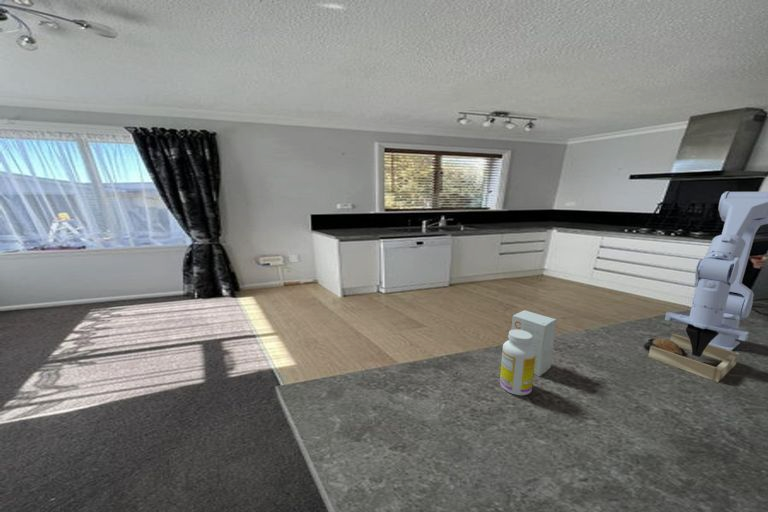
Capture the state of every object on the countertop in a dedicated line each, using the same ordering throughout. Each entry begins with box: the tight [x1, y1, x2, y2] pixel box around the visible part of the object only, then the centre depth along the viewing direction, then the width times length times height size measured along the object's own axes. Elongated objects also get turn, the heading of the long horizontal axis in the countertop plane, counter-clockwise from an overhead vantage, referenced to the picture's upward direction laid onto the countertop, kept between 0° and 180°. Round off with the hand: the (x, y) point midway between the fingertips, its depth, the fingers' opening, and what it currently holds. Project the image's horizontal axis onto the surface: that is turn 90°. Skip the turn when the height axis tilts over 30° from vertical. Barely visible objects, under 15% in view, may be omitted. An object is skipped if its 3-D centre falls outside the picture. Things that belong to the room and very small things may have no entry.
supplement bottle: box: [499, 329, 536, 396], centre depth 66 cm, size 7×7×13 cm
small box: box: [511, 309, 557, 377], centre depth 75 cm, size 8×6×13 cm
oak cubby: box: [648, 333, 740, 383], centre depth 79 cm, size 16×13×3 cm
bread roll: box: [643, 338, 686, 356], centre depth 84 cm, size 11×8×4 cm
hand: (696, 354), depth 79 cm, fingers closed
